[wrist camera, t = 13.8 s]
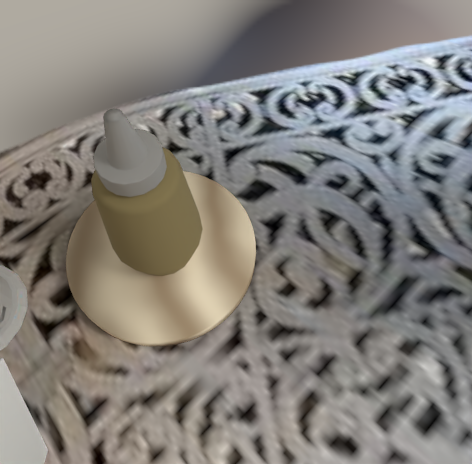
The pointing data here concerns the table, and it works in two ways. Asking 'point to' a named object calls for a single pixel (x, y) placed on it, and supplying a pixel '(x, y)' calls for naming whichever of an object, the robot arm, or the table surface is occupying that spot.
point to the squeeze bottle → (144, 199)
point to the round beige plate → (169, 286)
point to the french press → (11, 305)
